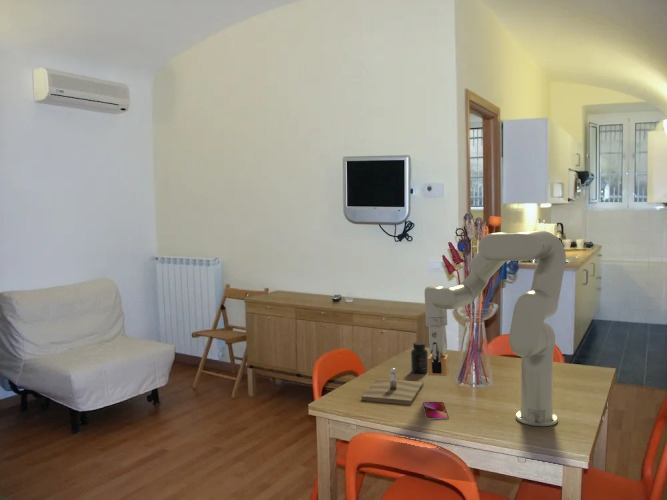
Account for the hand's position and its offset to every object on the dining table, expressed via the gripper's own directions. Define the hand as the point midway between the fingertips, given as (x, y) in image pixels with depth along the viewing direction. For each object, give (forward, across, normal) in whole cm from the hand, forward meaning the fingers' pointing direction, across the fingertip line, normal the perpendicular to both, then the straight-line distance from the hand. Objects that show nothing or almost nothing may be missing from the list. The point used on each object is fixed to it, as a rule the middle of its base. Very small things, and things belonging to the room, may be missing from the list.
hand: (438, 370), depth 211 cm
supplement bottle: (+9, +30, +13) cm, 34 cm away
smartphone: (+11, -14, -1) cm, 18 cm away
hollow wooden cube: (+1, 0, 0) cm, 1 cm away
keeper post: (+8, 0, +17) cm, 19 cm away
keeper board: (+9, 0, +17) cm, 19 cm away
